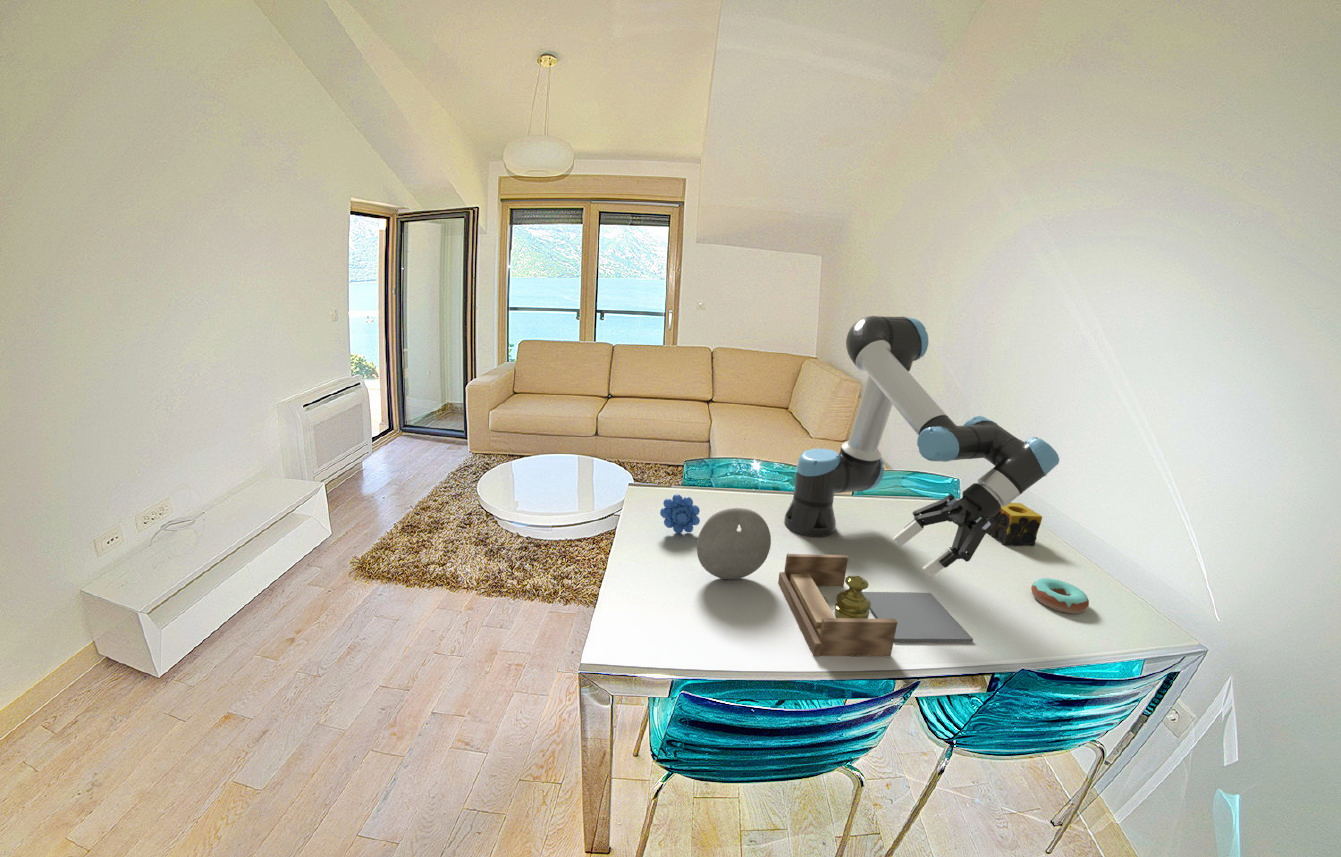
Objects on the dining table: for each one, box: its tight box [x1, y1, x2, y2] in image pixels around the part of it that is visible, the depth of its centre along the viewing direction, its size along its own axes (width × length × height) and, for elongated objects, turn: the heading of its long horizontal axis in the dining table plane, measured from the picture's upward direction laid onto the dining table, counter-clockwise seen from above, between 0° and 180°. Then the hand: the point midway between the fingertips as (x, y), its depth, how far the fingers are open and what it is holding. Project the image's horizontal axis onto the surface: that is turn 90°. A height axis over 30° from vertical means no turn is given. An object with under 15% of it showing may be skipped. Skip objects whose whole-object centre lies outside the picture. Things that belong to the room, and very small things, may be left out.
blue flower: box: [659, 493, 701, 534], centre depth 162 cm, size 12×7×12 cm, turn 100°
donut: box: [1030, 577, 1090, 614], centre depth 141 cm, size 12×12×4 cm
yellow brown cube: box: [986, 502, 1043, 547], centre depth 174 cm, size 10×10×10 cm
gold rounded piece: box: [834, 574, 871, 619], centre depth 128 cm, size 7×7×10 cm
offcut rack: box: [777, 553, 897, 657], centre depth 128 cm, size 16×27×8 cm, turn 5°
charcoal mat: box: [862, 591, 974, 643], centre depth 131 cm, size 18×18×1 cm
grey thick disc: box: [696, 507, 772, 580], centre depth 140 cm, size 18×7×19 cm, turn 100°
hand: (910, 556), depth 127 cm, fingers open, 13 cm apart
